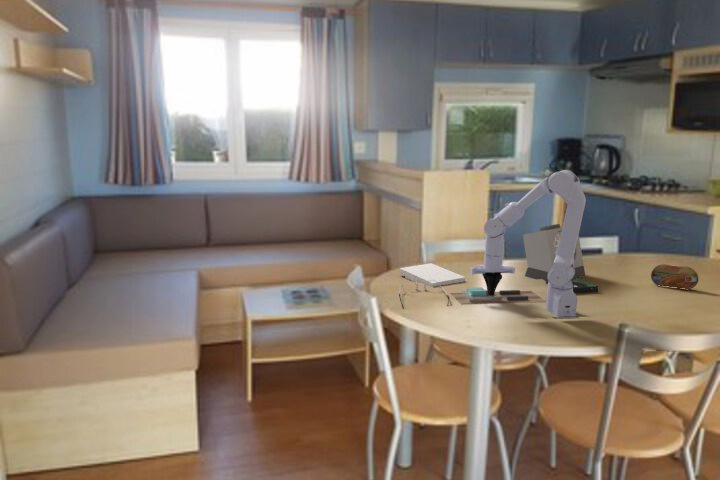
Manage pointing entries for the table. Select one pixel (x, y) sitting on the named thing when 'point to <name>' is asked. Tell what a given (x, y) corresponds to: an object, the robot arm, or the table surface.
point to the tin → (674, 276)
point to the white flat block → (431, 275)
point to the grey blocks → (511, 292)
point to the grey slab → (481, 297)
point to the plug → (476, 291)
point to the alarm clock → (547, 252)
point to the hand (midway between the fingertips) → (490, 294)
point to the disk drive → (582, 286)
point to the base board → (531, 298)
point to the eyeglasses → (424, 289)
